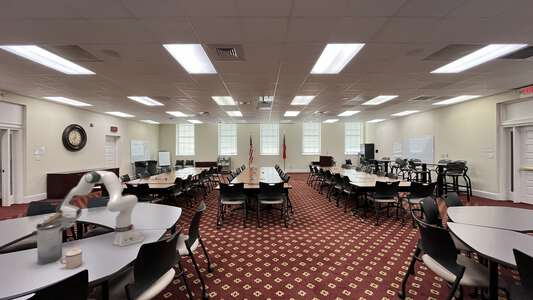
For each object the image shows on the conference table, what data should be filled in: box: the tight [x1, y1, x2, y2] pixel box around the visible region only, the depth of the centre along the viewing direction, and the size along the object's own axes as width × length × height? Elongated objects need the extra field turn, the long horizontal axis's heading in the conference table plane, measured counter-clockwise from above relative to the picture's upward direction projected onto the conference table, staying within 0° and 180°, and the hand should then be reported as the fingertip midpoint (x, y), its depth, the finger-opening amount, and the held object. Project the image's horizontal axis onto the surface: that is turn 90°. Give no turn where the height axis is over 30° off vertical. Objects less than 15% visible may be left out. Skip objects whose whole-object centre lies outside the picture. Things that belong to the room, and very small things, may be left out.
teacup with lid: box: [59, 247, 83, 269], centre depth 158 cm, size 12×9×12 cm
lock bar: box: [43, 210, 63, 227], centre depth 174 cm, size 3×28×5 cm, turn 27°
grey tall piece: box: [31, 219, 67, 266], centre depth 166 cm, size 18×14×28 cm
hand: (58, 215), depth 181 cm, fingers closed on lock bar, 3 cm apart
